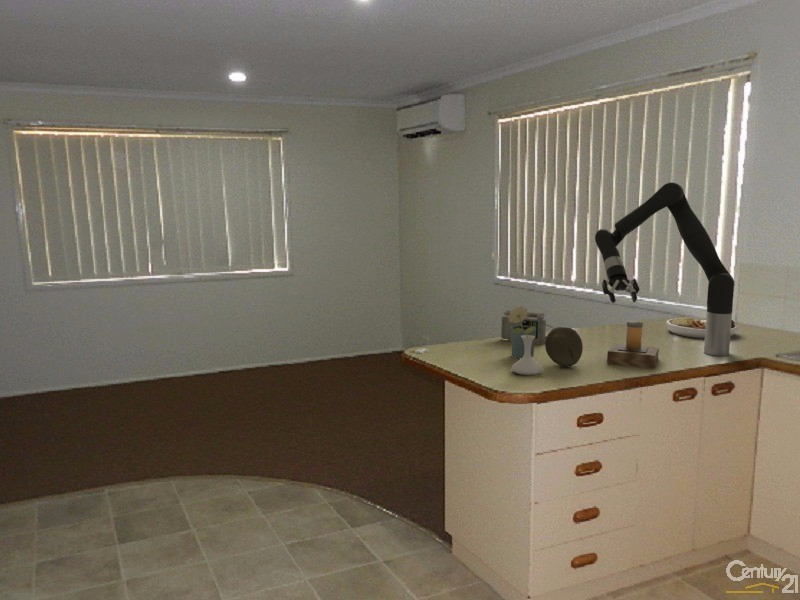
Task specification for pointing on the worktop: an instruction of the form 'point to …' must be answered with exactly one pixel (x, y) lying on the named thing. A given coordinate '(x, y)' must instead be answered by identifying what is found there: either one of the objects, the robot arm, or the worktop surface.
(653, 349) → the stand
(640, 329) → the amber jar
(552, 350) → the coconut
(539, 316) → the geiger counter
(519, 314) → the flower in vase
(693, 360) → the worktop surface
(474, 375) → the worktop surface
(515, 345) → the drinking glass
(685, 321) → the bowl
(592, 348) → the worktop surface
